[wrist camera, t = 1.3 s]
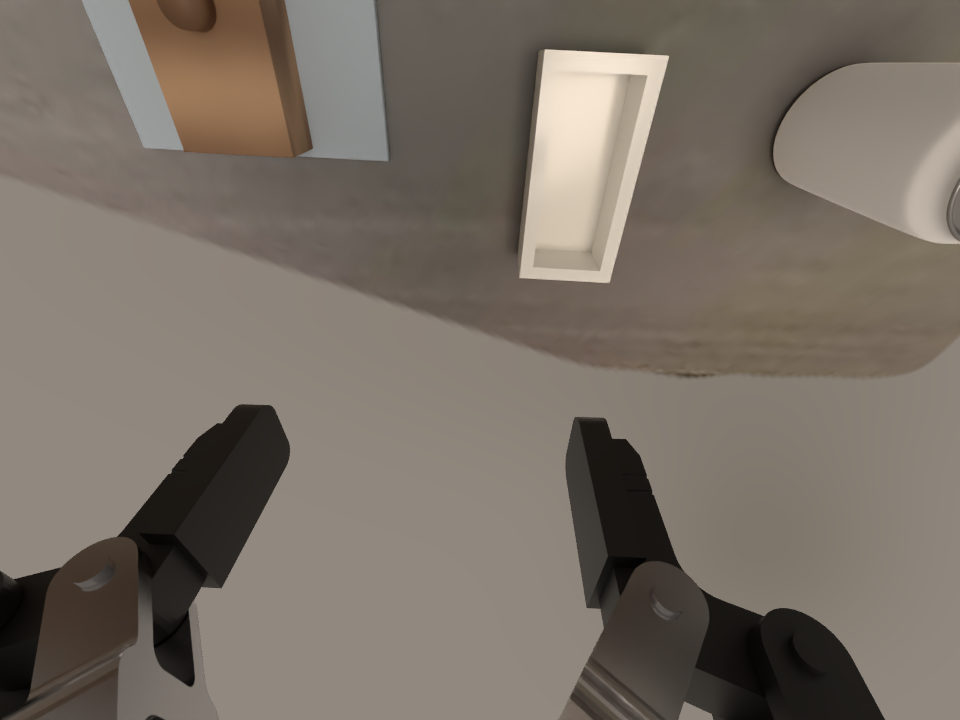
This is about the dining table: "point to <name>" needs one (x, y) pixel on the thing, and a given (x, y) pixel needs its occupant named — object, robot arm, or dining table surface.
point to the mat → (321, 65)
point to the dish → (584, 160)
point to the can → (880, 145)
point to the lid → (227, 74)
